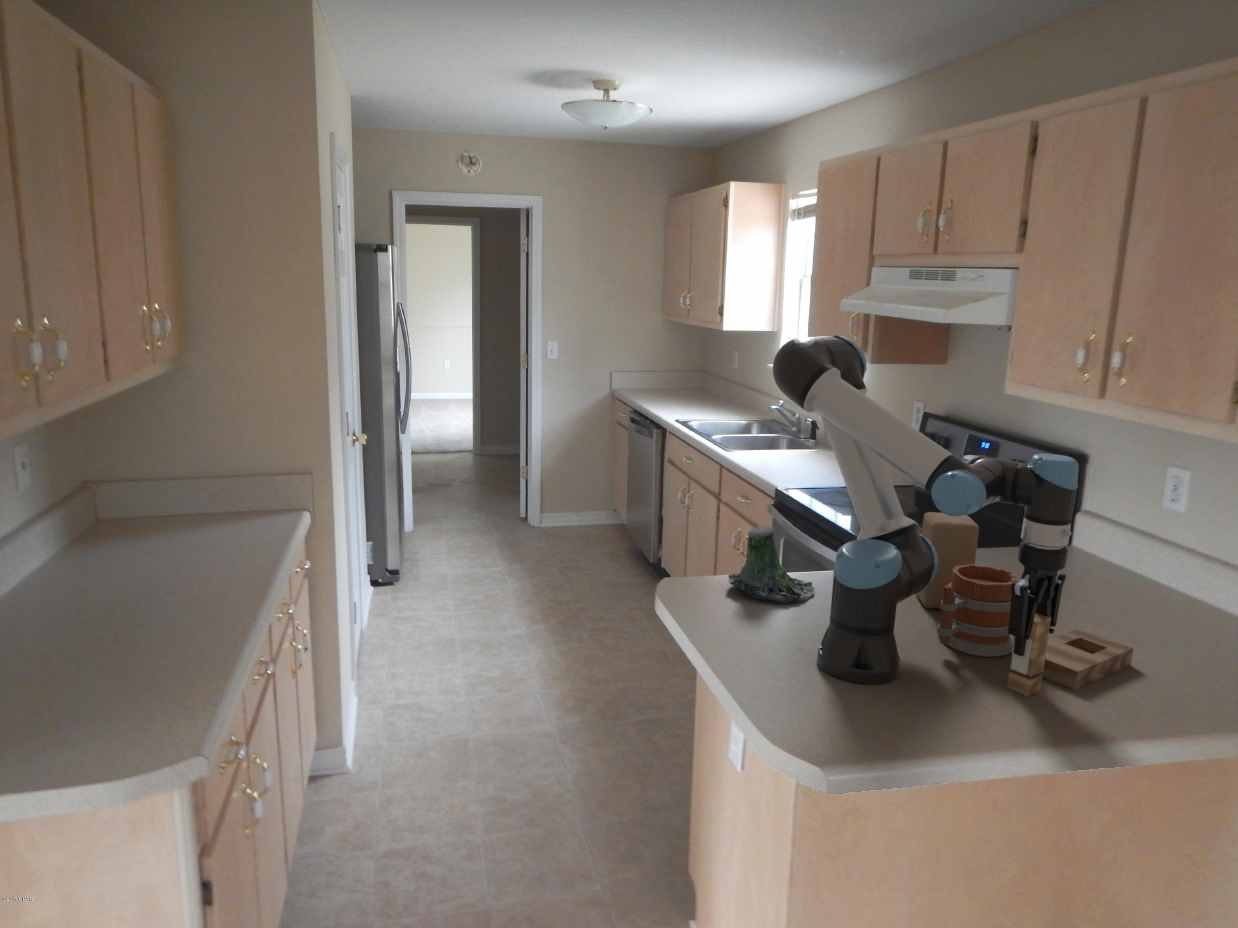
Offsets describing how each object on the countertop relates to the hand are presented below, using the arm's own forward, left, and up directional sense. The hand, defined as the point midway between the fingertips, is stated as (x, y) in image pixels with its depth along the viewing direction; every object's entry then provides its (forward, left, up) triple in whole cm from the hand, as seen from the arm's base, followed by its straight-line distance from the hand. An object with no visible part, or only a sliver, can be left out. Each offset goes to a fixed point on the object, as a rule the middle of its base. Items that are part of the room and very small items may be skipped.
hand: (1026, 667), depth 160 cm
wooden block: (+24, +35, -4) cm, 43 cm away
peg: (0, 0, -4) cm, 4 cm away
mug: (+8, +17, -4) cm, 19 cm away
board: (+18, 0, -4) cm, 18 cm away
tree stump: (-5, +60, -5) cm, 60 cm away
